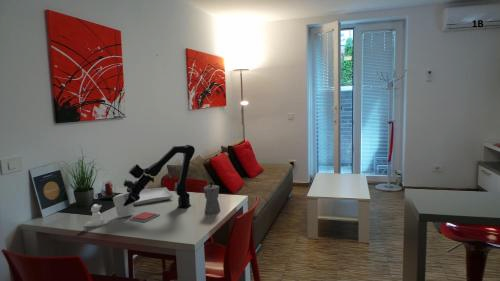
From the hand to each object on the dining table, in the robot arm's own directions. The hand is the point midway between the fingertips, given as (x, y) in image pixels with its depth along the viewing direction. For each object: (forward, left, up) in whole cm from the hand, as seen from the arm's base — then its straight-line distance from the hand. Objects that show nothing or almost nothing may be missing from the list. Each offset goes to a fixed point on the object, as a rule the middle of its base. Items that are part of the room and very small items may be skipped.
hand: (123, 203), depth 206 cm
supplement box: (-1, -1, -7) cm, 7 cm away
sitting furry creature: (+4, +16, -8) cm, 18 cm away
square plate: (+11, -35, -8) cm, 38 cm away
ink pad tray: (-14, -2, -8) cm, 16 cm away
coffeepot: (-46, -25, -8) cm, 53 cm away
